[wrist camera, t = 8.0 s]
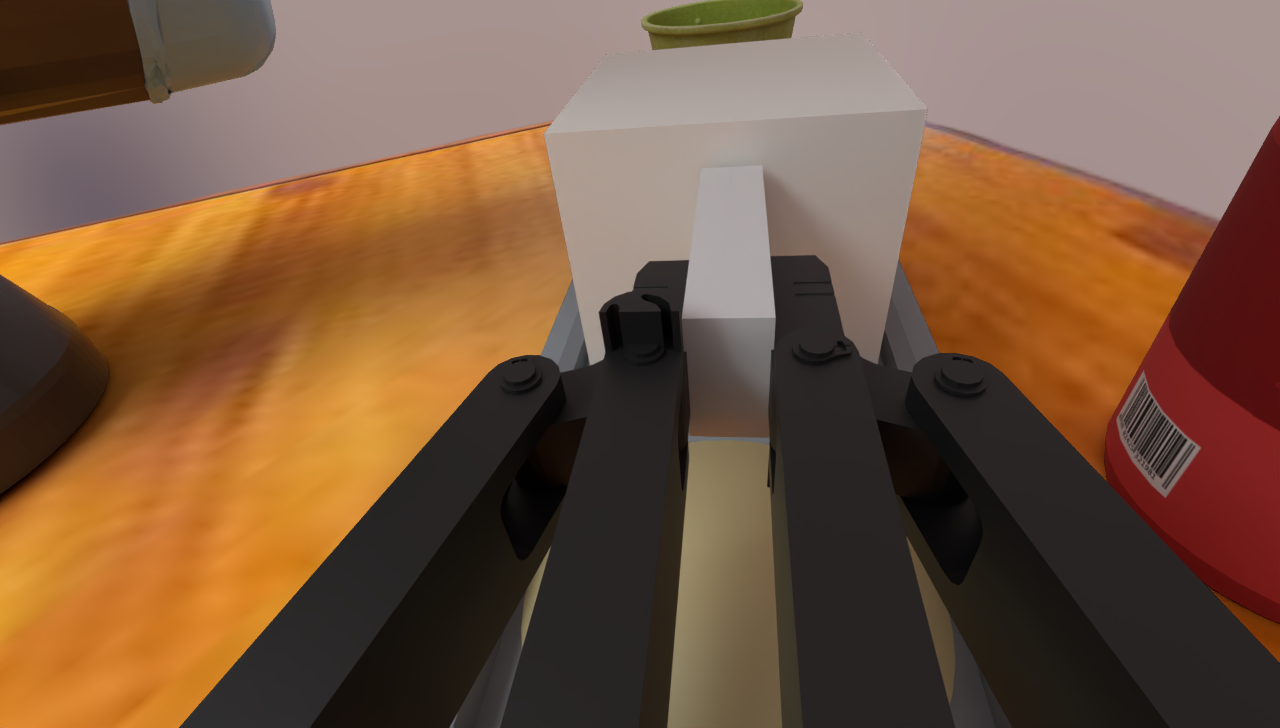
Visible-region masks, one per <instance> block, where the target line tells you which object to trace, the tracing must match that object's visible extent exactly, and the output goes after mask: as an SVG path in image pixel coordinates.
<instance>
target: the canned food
mask: <svg viewBox="0 0 1280 728" xmlns="http://www.w3.org/2000/svg"><path fill="white" fill-rule="evenodd" d="M1104 464H1105V469H1106V475H1107V480H1108V482H1109V484H1110V486H1111V487H1112V488H1113V489H1114V490H1115V491H1116V492H1117V493H1118V494H1119V495H1120V496H1121V497H1122V498H1123V499H1124V500H1125V501H1126V502H1127V504H1128V505H1129V506H1130V507H1131V508H1132V509H1133V510H1134V511H1135V512H1136V513H1137V514H1138V515H1139V516H1140V517H1141V518H1142V519H1143V520H1144V521H1145V522H1146V523H1147V524H1148V526H1149V527H1150V528H1151V529H1152V530H1153V531H1154V532H1155V533H1156V534H1157V535H1158V536H1159V537H1160V538H1161V539H1162V540H1163V541H1164V542H1165V543H1166V544H1167V545H1168V546H1169V548H1170V549H1171V550H1172V551H1173V552H1174V553H1175V554H1176V555H1177V556H1178V557H1179V558H1180V559H1181V560H1182V561H1183V562H1184V563H1185V564H1186V565H1187V566H1188V567H1189V568H1190V570H1191V571H1192V572H1193V573H1194V574H1195V575H1196V576H1197V577H1198V578H1199V579H1200V580H1201V581H1202V582H1204V583H1205V584H1207V585H1208V586H1210V587H1211V588H1213V589H1214V590H1216V591H1217V592H1219V593H1220V594H1222V595H1223V596H1225V597H1227V598H1229V599H1231V600H1233V601H1235V602H1237V603H1239V604H1241V605H1242V606H1244V607H1246V608H1248V609H1250V610H1252V611H1254V612H1256V613H1258V614H1259V615H1261V616H1263V617H1265V618H1268V619H1270V620H1273V621H1275V622H1277V623H1280V116H1279V118H1278V119H1277V121H1276V123H1275V124H1274V125H1273V127H1272V129H1271V130H1270V132H1269V134H1268V136H1267V138H1266V139H1265V141H1264V143H1263V145H1262V147H1261V148H1260V150H1259V152H1258V154H1257V156H1256V157H1255V159H1254V161H1253V163H1252V165H1251V166H1250V168H1249V170H1248V172H1247V174H1246V176H1245V177H1244V179H1243V181H1242V183H1241V184H1240V186H1239V188H1238V190H1237V192H1236V194H1235V196H1234V197H1233V199H1232V201H1231V203H1230V204H1229V206H1228V208H1227V210H1226V212H1225V213H1224V215H1223V217H1222V219H1221V221H1220V222H1219V224H1218V226H1217V228H1216V230H1215V231H1214V233H1213V235H1212V237H1211V239H1210V241H1209V242H1208V244H1207V246H1206V248H1205V250H1204V251H1203V253H1202V255H1201V257H1200V259H1199V260H1198V262H1197V264H1196V266H1195V268H1194V269H1193V271H1192V273H1191V275H1190V277H1189V278H1188V280H1187V282H1186V284H1185V286H1184V287H1183V289H1182V291H1181V293H1180V295H1179V297H1178V298H1177V300H1176V302H1175V304H1174V306H1173V307H1172V309H1171V311H1170V313H1169V315H1168V316H1167V318H1166V320H1165V322H1164V324H1163V325H1162V327H1161V329H1160V331H1159V333H1158V334H1157V336H1156V338H1155V340H1154V342H1153V344H1152V345H1151V347H1150V349H1149V351H1148V353H1147V354H1146V356H1145V358H1144V360H1143V362H1142V363H1141V365H1140V367H1139V369H1138V371H1137V372H1136V374H1135V376H1134V378H1133V380H1132V381H1131V383H1130V385H1129V387H1128V389H1127V391H1126V392H1125V394H1124V396H1123V398H1122V400H1121V401H1120V403H1119V405H1118V407H1117V409H1116V410H1115V412H1114V414H1113V416H1112V418H1111V419H1110V421H1109V423H1108V427H1107V433H1106V439H1105V455H1104Z"/></svg>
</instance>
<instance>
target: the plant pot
mask: <svg viewBox="0 0 1280 728" xmlns="http://www.w3.org/2000/svg"><path fill="white" fill-rule="evenodd" d="M802 8H803V2H802V1H800V0H710V1H702V2H697V3H691V4H685V5H681V6H676V7H672V8H668V9H664V10H661V11H657V12H654V13H651V14H649V15H647V16H645V17H643V18H642V19H641V24H642V27H643V29H644V30H646V31H648V32H649V37H650V41H651V45H652V50H661V49H672V48H684V47H696V46H707V45H719V44H730V43H742V42H753V41H765V40H777V39H788V38H791V36H792V31H793V26H794V21H795V16H796V15H797V14H799V13H800V12H801V11H802Z"/></svg>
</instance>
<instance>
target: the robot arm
mask: <svg viewBox="0 0 1280 728" xmlns="http://www.w3.org/2000/svg"><path fill="white" fill-rule="evenodd" d="M275 37H276V27H275V19H274V15H273V10H272V6H271V2H270V0H0V125H5V124H11V123H17V122H23V121H29V120H35V119H40V118H46V117H52V116H58V115H64V114H70V113H76V112H81V111H87V110H93V109H99V108H105V107H111V106H117V105H123V104H129V103H134V102H140V101H146V100H150V102H153V103H154V104H155V103H162V102H163V101H165V100H168V99H169V98H170V95H171V93H174V92H178V91H182V90H186V89H191V88H195V87H200V86H204V85H209V84H213V83H217V82H222V81H226V80H231V79H235V78H239V77H244V76H246V75H248V74H250V73H252V72H254V71H256V70H258V69H259V68H260V67H261V66H262V65H263V64H264V63H265V61H266V60H267V58H268V56H269V55H270V54H271V52H272V50H273V47H274V43H275ZM599 318H600V324H601V330H602V335H603V341H604V347H605V355H604V359H603V360H601V361H599V362H597V363H595V364H593V365H590V366H586V367H583V368H579V369H574V370H570V371H565V372H561V373H560V369H559V366H558V365H557V364H556V363H555V362H554V361H553V360H552V359H549V358H546V357H543V356H541V355H524V356H520V357H515V358H511V359H509V360H507V361H505V362H503V363H500V364H498V365H497V366H496V367H495V368H494V369H492V370H491V371H490V372H489V373H488V374H487V375H486V376H485V377H484V378H483V380H482V381H481V382H480V383H479V384H478V385H477V386H476V388H475V389H474V390H473V391H472V392H471V393H470V394H469V396H468V397H467V398H466V399H465V400H464V401H463V402H462V404H461V405H460V406H459V407H458V408H457V409H456V411H455V412H454V413H453V414H452V415H451V416H450V417H449V419H448V420H447V421H446V422H445V423H444V424H443V425H442V427H441V428H440V429H439V430H438V431H437V432H436V433H435V435H434V436H433V437H432V438H431V439H430V440H429V441H428V443H427V444H426V445H425V446H424V447H423V448H422V450H421V451H420V452H419V453H418V454H417V455H416V456H415V458H414V459H413V460H412V461H411V462H410V463H409V464H408V466H407V467H406V468H405V469H404V470H403V471H402V472H401V474H400V475H399V476H398V477H397V478H396V479H395V480H394V482H393V483H392V484H391V485H390V486H389V487H388V489H387V490H386V491H385V492H384V493H383V494H382V495H381V497H380V498H379V499H378V500H377V501H376V502H375V503H374V505H373V506H372V507H371V508H370V509H369V510H368V511H367V513H366V514H365V515H364V516H363V517H362V518H361V520H360V521H359V522H358V523H357V524H356V525H355V526H354V528H353V529H352V530H351V531H350V532H349V533H348V534H347V536H346V537H345V538H344V539H343V540H342V541H341V542H340V544H339V545H338V546H337V547H336V548H335V549H334V550H333V552H332V553H331V554H330V555H329V556H328V557H327V559H326V560H325V561H324V562H323V563H322V564H321V565H320V567H319V568H318V569H317V570H316V571H315V572H314V573H313V575H312V576H311V577H310V578H309V579H308V580H307V581H306V583H305V584H304V585H303V586H302V587H301V588H300V589H299V591H298V592H297V593H296V594H295V595H294V596H293V598H292V599H291V600H290V601H289V602H288V603H287V604H286V606H285V607H284V608H283V609H282V610H281V611H280V612H279V614H278V615H277V616H276V617H275V618H274V619H273V620H272V622H271V623H270V624H269V625H268V626H267V627H266V629H265V630H264V631H263V632H262V633H261V634H260V635H259V637H258V638H257V639H256V640H255V641H254V642H253V643H252V645H251V646H250V647H249V648H248V649H247V650H246V651H245V653H244V654H243V655H242V656H241V657H240V658H239V659H238V661H237V662H236V663H235V664H234V665H233V666H232V668H231V669H230V670H229V671H228V672H227V673H226V674H225V676H224V677H223V678H222V679H221V680H220V681H219V682H218V684H217V685H216V686H215V687H214V688H213V689H212V690H211V692H210V693H209V694H208V695H207V696H206V697H205V698H204V700H203V701H202V702H201V703H200V704H199V705H198V707H197V708H196V709H195V710H194V711H193V712H192V713H191V715H190V716H189V717H188V718H187V719H186V720H185V721H184V723H183V724H182V725H181V726H180V727H179V728H449V727H450V726H451V724H452V722H453V720H454V718H455V717H456V715H457V713H458V711H459V710H460V708H461V706H462V704H463V702H464V701H465V699H466V697H467V695H468V693H469V692H470V690H471V688H472V686H473V685H474V683H475V681H476V679H477V677H478V676H479V674H480V672H481V670H482V668H483V667H484V665H485V663H486V661H487V659H488V658H489V656H490V654H491V652H492V651H493V649H494V647H495V645H496V643H497V642H498V640H499V638H500V636H501V634H502V633H503V631H504V629H505V627H506V626H507V624H508V622H509V620H510V618H511V617H512V615H513V613H514V611H515V609H516V608H517V606H518V604H519V602H520V601H521V599H522V597H523V595H524V593H525V592H526V590H527V588H528V586H529V584H530V583H531V581H532V579H533V577H534V575H535V574H536V572H537V570H538V568H539V567H540V565H541V563H542V561H543V559H544V558H545V556H546V554H547V552H548V550H549V549H550V551H549V555H548V558H547V562H546V565H545V569H544V573H543V576H542V580H541V583H540V587H539V590H538V594H537V598H536V601H535V605H534V608H533V612H532V615H531V619H530V622H529V626H528V630H527V633H526V637H525V640H524V644H523V647H522V651H521V655H520V658H519V662H518V665H517V669H516V672H515V676H514V679H513V683H512V687H511V690H510V694H509V697H508V701H507V704H506V708H505V712H504V715H503V719H502V722H501V726H500V728H667V725H668V713H669V701H670V689H671V676H672V664H673V652H674V640H675V627H676V615H677V603H678V591H679V578H680V566H681V554H682V542H683V529H684V517H685V505H686V493H687V480H688V468H689V446H688V433H690V436H703V437H746V438H769V436H770V443H769V461H768V480H767V487H770V497H771V517H772V537H773V557H774V576H775V596H776V616H777V635H778V655H779V675H780V694H781V714H782V728H955V724H954V721H953V717H952V713H951V709H950V705H949V701H948V697H947V693H946V689H945V686H944V682H943V678H942V674H941V670H940V666H939V662H938V658H937V654H936V650H935V647H934V643H933V639H932V635H931V631H930V627H929V623H928V619H927V615H926V611H925V608H924V604H923V600H922V596H921V592H920V588H919V584H918V580H917V576H916V573H915V569H914V565H913V561H912V557H911V553H910V549H909V545H908V541H907V538H908V540H909V542H910V543H911V545H912V547H913V549H914V551H915V552H916V554H917V556H918V558H919V560H920V562H921V563H922V565H923V567H924V569H925V571H926V572H927V574H928V576H929V578H930V580H931V581H932V583H933V585H934V587H935V589H936V590H937V592H938V594H939V596H940V598H941V600H942V601H943V603H944V605H945V607H946V609H947V610H948V612H949V614H950V616H951V618H952V619H953V621H954V623H955V625H956V627H957V629H958V630H959V632H960V634H961V636H962V638H963V639H964V641H965V643H966V645H967V647H968V648H969V650H970V652H971V654H972V656H973V657H974V659H975V661H976V663H977V665H978V667H979V668H980V670H981V672H982V674H983V676H984V677H985V679H986V681H987V683H988V685H989V686H990V688H991V690H992V692H993V694H994V696H995V697H996V699H997V701H998V703H999V705H1000V706H1001V708H1002V710H1003V712H1004V714H1005V715H1006V717H1007V719H1008V721H1009V723H1010V725H1011V726H1012V728H1280V663H1279V662H1278V661H1277V660H1276V659H1275V658H1274V656H1273V655H1272V654H1271V653H1270V652H1269V651H1268V650H1267V649H1266V648H1265V647H1264V646H1263V645H1262V644H1261V643H1260V642H1259V641H1258V640H1257V639H1256V638H1255V637H1254V636H1253V634H1252V633H1251V632H1250V631H1249V630H1248V629H1247V628H1246V627H1245V626H1244V625H1243V624H1242V623H1241V622H1240V621H1239V620H1238V619H1237V618H1236V617H1235V616H1234V615H1233V614H1232V612H1231V611H1230V610H1229V609H1228V608H1227V607H1226V606H1225V605H1224V604H1223V603H1222V602H1221V601H1220V600H1219V599H1218V598H1217V597H1216V596H1215V595H1214V594H1213V593H1212V592H1211V590H1210V589H1209V588H1208V587H1207V586H1206V585H1205V584H1204V583H1203V582H1202V581H1201V580H1200V579H1199V578H1198V577H1197V576H1196V575H1195V574H1194V573H1193V572H1192V571H1191V570H1190V568H1189V567H1188V566H1187V565H1186V564H1185V563H1184V562H1183V561H1182V560H1181V559H1180V558H1179V557H1178V556H1177V555H1176V554H1175V553H1174V552H1173V551H1172V550H1171V549H1170V548H1169V546H1168V545H1167V544H1166V543H1165V542H1164V541H1163V540H1162V539H1161V538H1160V537H1159V536H1158V535H1157V534H1156V533H1155V532H1154V531H1153V530H1152V529H1151V528H1150V527H1149V526H1148V524H1147V523H1146V522H1145V521H1144V520H1143V519H1142V518H1141V517H1140V516H1139V515H1138V514H1137V513H1136V512H1135V511H1134V510H1133V509H1132V508H1131V507H1130V506H1129V505H1128V504H1127V502H1126V501H1125V500H1124V499H1123V498H1122V497H1121V496H1120V495H1119V494H1118V493H1117V492H1116V491H1115V490H1114V489H1113V488H1112V487H1111V486H1110V485H1109V484H1108V483H1107V482H1106V480H1105V479H1104V478H1103V477H1102V476H1101V475H1100V474H1099V473H1098V472H1097V471H1096V470H1095V469H1094V468H1093V467H1092V466H1091V465H1090V464H1089V463H1088V462H1087V461H1086V460H1085V458H1084V457H1083V456H1082V455H1081V454H1080V453H1079V452H1078V451H1077V450H1076V449H1075V448H1074V447H1073V446H1072V445H1071V444H1070V443H1069V442H1068V441H1067V440H1066V439H1065V438H1064V436H1063V435H1062V434H1061V433H1060V432H1059V431H1058V430H1057V429H1056V428H1055V427H1054V426H1053V425H1052V424H1051V423H1050V422H1049V421H1048V420H1047V419H1046V418H1045V417H1044V416H1043V415H1042V413H1041V412H1040V411H1039V410H1038V409H1037V408H1036V407H1035V406H1034V405H1033V404H1032V403H1031V402H1030V401H1029V400H1028V399H1027V398H1026V397H1025V396H1024V395H1023V394H1022V393H1021V391H1020V390H1019V389H1018V388H1017V387H1016V386H1015V385H1014V384H1013V383H1012V382H1011V381H1010V380H1009V379H1008V378H1007V377H1006V376H1005V375H1004V374H1003V373H1002V372H1001V371H999V370H998V369H997V368H995V367H994V366H993V365H991V364H990V363H987V362H985V361H983V360H980V359H978V358H975V357H973V356H968V355H962V354H957V353H937V354H934V355H930V356H927V357H924V358H922V359H921V360H920V361H918V362H917V363H916V364H915V365H914V366H913V370H912V372H908V371H904V370H899V369H894V368H889V367H885V366H882V365H878V364H875V363H873V362H871V361H868V360H866V359H864V358H862V357H861V356H860V354H859V351H858V349H857V348H856V346H855V344H854V343H853V342H852V341H851V340H850V339H848V338H847V337H845V335H844V331H843V327H842V322H841V318H840V314H839V310H838V306H837V301H836V297H835V296H834V289H833V285H832V280H831V276H830V272H829V268H828V266H826V265H825V264H824V263H823V262H822V261H821V260H820V259H819V258H818V257H817V256H816V255H797V256H770V248H769V236H768V225H767V214H766V202H765V191H764V180H763V168H762V165H758V166H739V167H719V168H701V174H700V182H699V189H698V197H697V205H696V212H695V220H694V228H693V236H692V243H691V251H690V259H689V260H674V261H649V262H648V263H647V264H646V265H645V266H644V267H643V268H642V269H641V270H640V271H639V272H638V273H637V275H636V279H635V282H634V286H633V290H632V291H631V292H626V293H624V294H621V295H618V296H615V297H613V298H612V299H610V300H609V301H607V302H606V303H604V305H603V306H602V308H601V309H600V311H599ZM108 376H109V367H108V363H107V361H106V359H105V358H104V356H103V355H102V354H101V353H100V352H99V351H98V349H97V348H96V347H95V346H94V345H93V344H92V342H91V341H90V340H89V339H88V338H87V337H86V336H85V334H84V333H83V332H82V331H81V330H80V329H79V327H78V326H77V325H76V324H75V323H74V322H73V321H72V320H71V319H69V318H68V317H67V316H66V315H64V314H63V313H61V312H60V311H58V310H57V309H55V308H53V307H51V306H49V305H47V304H46V303H44V302H43V301H41V300H40V299H38V298H36V297H35V296H33V295H32V294H30V293H29V292H27V291H26V290H24V289H22V288H21V287H19V286H18V285H16V284H15V283H13V282H11V281H10V280H8V279H6V278H5V277H3V276H2V275H0V494H1V493H3V492H4V491H5V490H7V489H8V488H9V487H11V486H12V485H14V484H15V483H16V482H18V481H19V480H20V479H21V478H23V477H24V476H25V475H27V474H28V473H29V472H30V471H32V470H33V469H34V468H35V467H37V466H38V465H39V464H40V463H42V462H43V461H44V460H45V459H46V458H47V457H48V456H50V455H51V454H52V453H53V452H54V451H55V450H56V449H57V448H58V447H60V446H61V445H62V444H63V443H64V442H65V441H66V440H67V439H68V438H69V437H70V436H71V435H72V434H73V433H74V432H75V431H76V430H77V429H78V427H79V426H80V425H81V424H82V423H83V422H84V421H85V419H86V418H87V417H88V416H89V414H90V413H91V412H92V410H93V409H94V408H95V406H96V405H97V403H98V402H99V400H100V398H101V396H102V394H103V392H104V390H105V388H106V385H107V381H108ZM906 536H907V537H906ZM550 547H551V548H550Z"/></svg>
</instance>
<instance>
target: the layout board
mask: <svg viewBox="0 0 1280 728" xmlns="http://www.w3.org/2000/svg"><path fill="white" fill-rule="evenodd" d="M937 353H939V351H938V349H937V346H936V344H935V342H934V339H933V337H932V335H931V333H930V330H929V328H928V326H927V323H926V321H925V319H924V316H923V314H922V312H921V310H920V307H919V305H918V303H917V300H916V298H915V296H914V294H913V291H912V289H911V287H910V284H909V282H908V280H907V277H906V275H905V273H904V271H903V268H902V266H901V264H900V261H899V259H898V264H897V269H896V274H895V279H894V284H893V289H892V294H891V299H890V304H889V309H888V314H887V319H886V324H885V329H884V334H883V339H882V344H881V349H880V354H879V359H878V365H882V366H885V367H889V368H894V369H899V370H904V371H908V372H912V370H913V366H914V365H915V364H916V363H917V362H918V361H920V360H921V359H922V358H924V357H927V356H930V355H934V354H937ZM541 356H543V357H546V358H549V359H552V360H553V361H554V362H555V363H556V364H557V365H558V366H559V369H560V373H561V372H565V371H570V370H574V369H579V368H583V367H586V366H590V363H589V358H588V353H587V348H586V343H585V338H584V333H583V328H582V323H581V318H580V313H579V308H578V303H577V298H576V293H575V288H574V282H573V279H572V282H571V284H570V286H569V289H568V291H567V294H566V296H565V298H564V301H563V303H562V306H561V308H560V310H559V313H558V315H557V318H556V320H555V322H554V325H553V327H552V330H551V332H550V334H549V337H548V339H547V342H546V344H545V346H544V349H543V351H542V354H541ZM769 443H770V436H769V438H746V437H703V436H690V433H688V446H689V468H688V480H687V493H686V505H685V517H684V529H683V542H682V554H681V566H680V578H679V591H678V603H677V615H676V627H675V640H674V652H673V664H672V676H671V689H670V701H669V713H668V725H667V728H782V714H781V694H780V675H779V655H778V635H777V616H776V596H775V576H774V557H773V537H772V517H771V497H770V487H767V480H768V461H769ZM906 537H907V536H906ZM907 541H908V545H909V549H910V553H911V557H912V561H913V565H914V569H915V573H916V576H917V580H918V584H919V588H920V592H921V596H922V600H923V604H924V608H925V611H926V615H927V619H928V623H929V627H930V631H931V635H932V639H933V643H934V647H935V650H936V654H937V658H938V662H939V666H940V670H941V674H942V678H943V682H944V686H945V689H946V693H947V697H948V701H949V705H950V709H951V713H952V717H953V721H954V724H955V728H1012V726H1011V725H1010V723H1009V721H1008V719H1007V717H1006V715H1005V714H1004V712H1003V710H1002V708H1001V706H1000V705H999V703H998V701H997V699H996V697H995V696H994V694H993V692H992V690H991V688H990V686H989V685H988V683H987V681H986V679H985V677H984V676H983V674H982V672H981V670H980V668H979V667H978V665H977V663H976V661H975V659H974V657H973V656H972V654H971V652H970V650H969V648H968V647H967V645H966V643H965V641H964V639H963V638H962V636H961V634H960V632H959V630H958V629H957V627H956V625H955V623H954V621H953V619H952V618H951V616H950V614H949V612H948V610H947V609H946V607H945V605H944V603H943V601H942V600H941V598H940V596H939V594H938V592H937V590H936V589H935V587H934V585H933V583H932V581H931V580H930V578H929V576H928V574H927V572H926V571H925V569H924V567H923V565H922V563H921V562H920V560H919V558H918V556H917V554H916V552H915V551H914V549H913V547H912V545H911V543H910V542H909V540H908V538H907ZM550 548H551V547H550ZM549 551H550V549H549V550H548V552H547V554H546V556H545V558H544V559H543V561H542V563H541V565H540V567H539V568H538V570H537V572H536V574H535V575H534V577H533V579H532V581H531V583H530V584H529V586H528V588H527V590H526V592H525V593H524V595H523V597H522V599H521V601H520V602H519V604H518V606H517V608H516V609H515V611H514V613H513V615H512V617H511V618H510V620H509V622H508V624H507V626H506V627H505V629H504V631H503V633H502V634H501V636H500V638H499V640H498V642H497V643H496V645H495V647H494V649H493V651H492V652H491V654H490V656H489V658H488V659H487V661H486V663H485V665H484V667H483V668H482V670H481V672H480V674H479V676H478V677H477V679H476V681H475V683H474V685H473V686H472V688H471V690H470V692H469V693H468V695H467V697H466V699H465V701H464V702H463V704H462V706H461V708H460V710H459V711H458V713H457V715H456V717H455V718H454V720H453V722H452V724H451V726H450V727H449V728H500V726H501V722H502V719H503V715H504V712H505V708H506V704H507V701H508V697H509V694H510V690H511V687H512V683H513V679H514V676H515V672H516V669H517V665H518V662H519V658H520V655H521V651H522V647H523V644H524V640H525V637H526V633H527V630H528V626H529V622H530V619H531V615H532V612H533V608H534V605H535V601H536V598H537V594H538V590H539V587H540V583H541V580H542V576H543V573H544V569H545V565H546V562H547V558H548V555H549Z"/></svg>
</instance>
